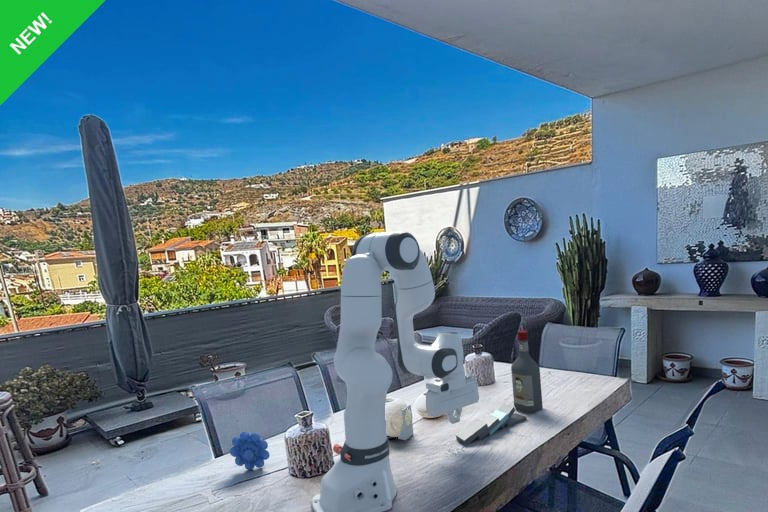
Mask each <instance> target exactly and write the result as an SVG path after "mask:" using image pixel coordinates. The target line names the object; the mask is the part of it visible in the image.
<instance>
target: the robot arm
mask: <svg viewBox="0 0 768 512" xmlns="http://www.w3.org/2000/svg"><path fill="white" fill-rule="evenodd" d="M386 271H390V272H392V274H393V276H394V280H395V285H396V289H397V290H396V291H397V300H396V301H395V304H394V308H393V309H394V310H393V311H394V315H393V316H394V324H395V333H396V341H397V364H398V367H399V368H400V370H401V371H402V373H403V374H404V375H410V376H413V375H414V376H422V377H426V378H427V377H428V378H431V379H430V380H429V381H427V382H426V383H425V389H426V390H427V391H426V393H425V408H426V409H425V410H426V413H427V414H428V415H429V416H431V417H439V416H443V415H445V414H446V415H447V416H448V418H449V423H450V424H452V425H453V424H457V423H459V422H461V414H462V412H463V408H464V407H467V406H470V405H474V404H476V403H478V402H479V400H480V395H479V394H480V392H479V387H478V385H477V379H476V378H477V377H475V375H473V374H468V375H466V370H465V369H466V368H465V367H464V358H465V356H464V347H463V340H462V337H461V335H460V333H459V332H456V331H448V330H447V331H446V330H441V331H437V332H436V339H435V340H434V341H433V343H431V344H430V345H427V344H420V343H419V342H417V340H416V339H415V330H414V321H413V319H414V316H415V315H417V314H420V313H421V312H423V311H425V310H426V309H427V308H429V307H431V304H433V302H434V300H435V298H436V297H435V296H436V291H435V284H434V280H433V276H432V272H431V269H430V266H429V263H428V261H427V258H426V256H425V254H424V252H423V251H422V250H421V249H420V245H419V243H418V241H417V238H415V236H414V235H413V234H412V233H410V232H408V231H403V230H396V231H385V230H384V231H377V232H372V233H366V234H364V235H363V234H362V235H361V236H359V237H358V238H357V239H356V240H355V242H354V243H353V247H352V249H351V255H350V257H347V259H346V260H345V263H344V264H343V270H342V275H341V283H340V284H341V286H340V323H339V325H340V326H339V333H338V338H337V344H336V350H335V351H336V352H335V354H334V356H333V365H334V370H335V372H336V374H337V376H338V377H339V379H341V380H342V381H343V382H344V384H345V386H346V391H347V393H346V395H347V396H346V405H345V409H344V411H343V422H344V436H345V440H344V443H343V446H341V445H340V444H338V443H335V444H334V445H333V446H332V451H333V452H334V453H335V454H336V455H340V456H339V457H340V458H338V460H337V461H336V462H335V463H334V465H332V466H331V468H330V469H328V471H327V472H326V473H325V474H324V475H323V476H322V479H321V481H320V488H319V489H320V490H319V493H317V494H316V495H315V494H314V496H313V497H312V500H311V507H312V511H313V512H386V511H389V510H390V509H392V508H393V500H394V499H395V497H396V495H397V492H398V489H397V485H396V483H395V479H394V477H393V473H392V469H391V463H390V440H389V437H387V434H386V420H385V406H386V401H387V394H388V390H389V388H390V386H391V384H392V382H393V375H394V374H393V369H392V367H391V366H390V364H389V362H388V361H387V359H386V358H385V356H383V355H382V354H380V353H378V352H377V351H376V349H375V348H376V340H377V338H378V337H377V336H378V332H379V330H380V328H381V327H382V317H383V316H382V315H383V314H382V311H383V310H382V302H383V300H382V295H383V294H382V290H383V289H382V280H381V279H382V276H383V273H384V272H386ZM454 411H455V413H454Z"/></svg>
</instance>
